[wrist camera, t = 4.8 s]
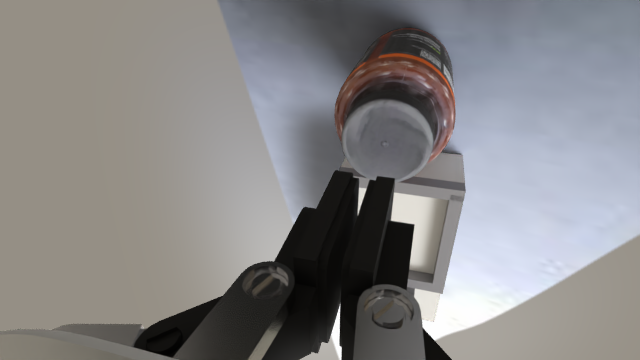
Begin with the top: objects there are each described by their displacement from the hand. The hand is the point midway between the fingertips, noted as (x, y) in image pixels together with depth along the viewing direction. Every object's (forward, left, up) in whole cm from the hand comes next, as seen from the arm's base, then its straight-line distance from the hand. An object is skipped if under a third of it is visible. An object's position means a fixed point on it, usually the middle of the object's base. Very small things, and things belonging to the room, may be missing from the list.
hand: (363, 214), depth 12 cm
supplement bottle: (0, 0, -17) cm, 17 cm away
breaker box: (+12, 0, -17) cm, 21 cm away
